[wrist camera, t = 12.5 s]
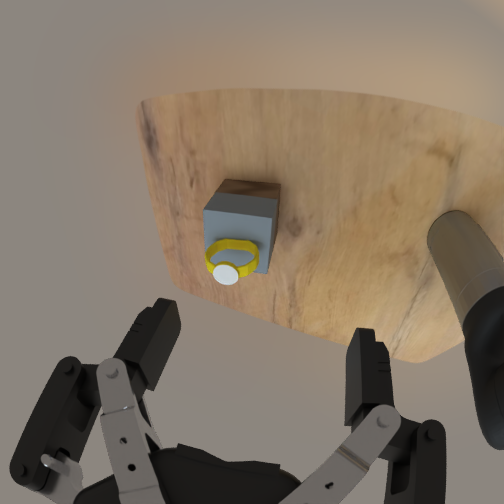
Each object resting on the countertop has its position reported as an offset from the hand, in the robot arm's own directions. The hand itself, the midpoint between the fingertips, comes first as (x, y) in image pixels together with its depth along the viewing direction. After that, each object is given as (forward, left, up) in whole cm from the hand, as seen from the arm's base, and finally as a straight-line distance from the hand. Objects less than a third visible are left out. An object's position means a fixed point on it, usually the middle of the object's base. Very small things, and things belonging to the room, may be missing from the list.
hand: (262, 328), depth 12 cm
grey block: (+6, +10, -25) cm, 28 cm away
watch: (+6, +10, -20) cm, 23 cm away
